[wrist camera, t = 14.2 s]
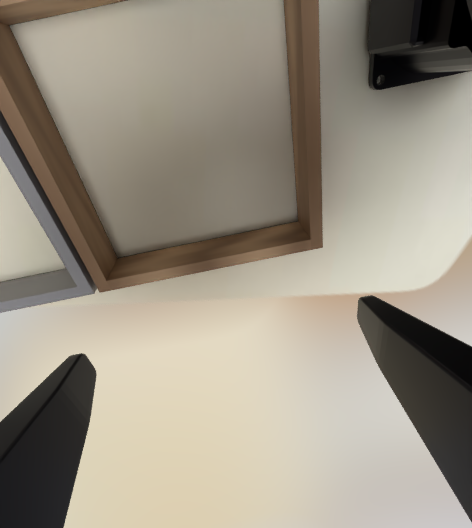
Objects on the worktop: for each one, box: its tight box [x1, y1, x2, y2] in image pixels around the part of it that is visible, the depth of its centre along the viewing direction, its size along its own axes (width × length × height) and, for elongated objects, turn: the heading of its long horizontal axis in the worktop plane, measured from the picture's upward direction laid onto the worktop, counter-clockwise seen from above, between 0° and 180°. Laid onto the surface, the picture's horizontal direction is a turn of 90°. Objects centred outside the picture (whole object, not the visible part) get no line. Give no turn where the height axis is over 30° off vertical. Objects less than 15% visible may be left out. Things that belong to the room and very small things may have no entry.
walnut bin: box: [0, 0, 323, 292], centre depth 17 cm, size 16×16×3 cm
